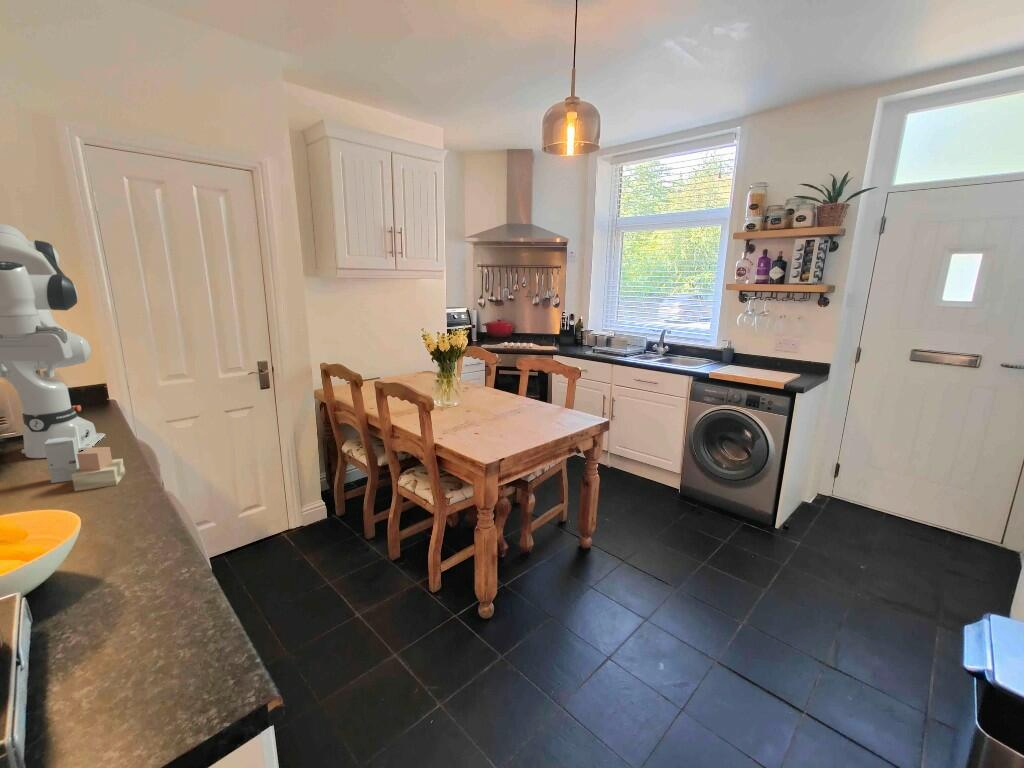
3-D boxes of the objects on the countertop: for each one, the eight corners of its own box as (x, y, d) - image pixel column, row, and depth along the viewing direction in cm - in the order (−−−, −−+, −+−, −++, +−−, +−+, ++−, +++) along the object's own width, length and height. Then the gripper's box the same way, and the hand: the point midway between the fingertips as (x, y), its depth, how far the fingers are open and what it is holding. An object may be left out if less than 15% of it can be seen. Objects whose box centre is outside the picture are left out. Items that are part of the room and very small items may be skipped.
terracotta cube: (93, 463, 131) (90, 447, 130) (112, 463, 132) (109, 447, 131) (80, 470, 126) (76, 453, 125) (100, 470, 127) (97, 453, 126)
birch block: (86, 479, 132) (83, 463, 131) (125, 473, 136) (122, 458, 135) (75, 492, 124) (71, 475, 123) (116, 485, 129) (113, 469, 127)
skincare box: (51, 484, 128) (42, 443, 125) (55, 478, 132) (46, 439, 129) (80, 479, 131) (72, 440, 129) (83, 473, 135) (75, 435, 132)
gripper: (72, 325, 123) (82, 374, 127) (-21, 323, 118) (-9, 374, 122) (56, 328, 117) (66, 379, 121) (-43, 326, 113) (-30, 380, 116)
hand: (28, 377), depth 121 cm, fingers open, 8 cm apart
